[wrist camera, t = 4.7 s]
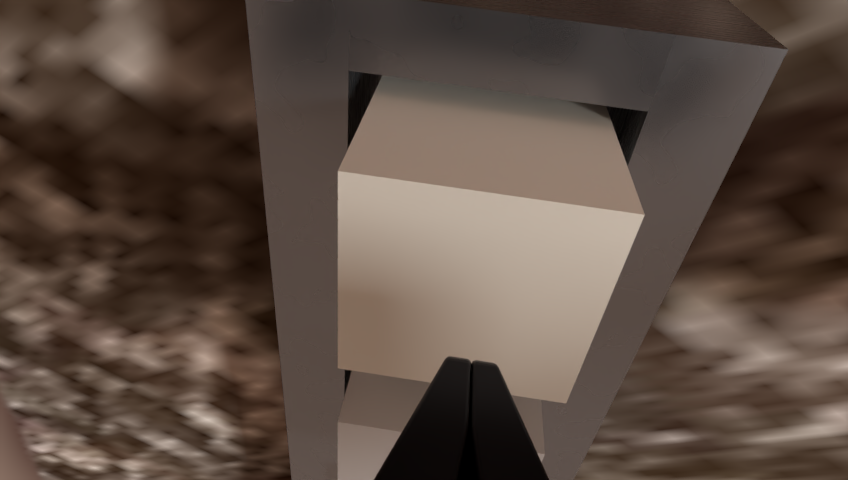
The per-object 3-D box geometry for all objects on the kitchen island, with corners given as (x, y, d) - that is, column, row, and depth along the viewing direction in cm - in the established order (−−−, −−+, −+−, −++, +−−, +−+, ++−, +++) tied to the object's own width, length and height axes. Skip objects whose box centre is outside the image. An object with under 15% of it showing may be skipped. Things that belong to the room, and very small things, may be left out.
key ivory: (605, 105, 12) (644, 215, 9) (552, 273, 15) (566, 403, 12) (382, 74, 12) (337, 170, 9) (373, 247, 16) (337, 368, 12)
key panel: (719, -7, 13) (788, 49, 10) (496, 552, 31) (495, 634, 28) (304, -61, 13) (243, -23, 10) (323, 524, 32) (303, 602, 29)
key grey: (536, 324, 17) (544, 454, 13) (505, 421, 20) (505, 548, 16) (371, 299, 17) (337, 421, 13) (365, 399, 20) (337, 520, 16)
